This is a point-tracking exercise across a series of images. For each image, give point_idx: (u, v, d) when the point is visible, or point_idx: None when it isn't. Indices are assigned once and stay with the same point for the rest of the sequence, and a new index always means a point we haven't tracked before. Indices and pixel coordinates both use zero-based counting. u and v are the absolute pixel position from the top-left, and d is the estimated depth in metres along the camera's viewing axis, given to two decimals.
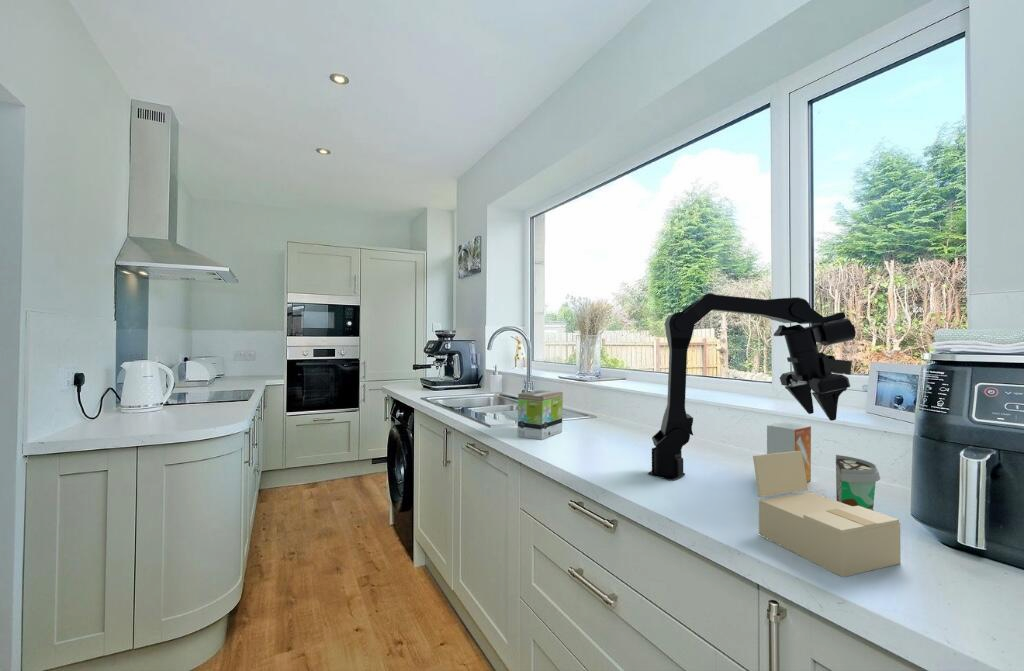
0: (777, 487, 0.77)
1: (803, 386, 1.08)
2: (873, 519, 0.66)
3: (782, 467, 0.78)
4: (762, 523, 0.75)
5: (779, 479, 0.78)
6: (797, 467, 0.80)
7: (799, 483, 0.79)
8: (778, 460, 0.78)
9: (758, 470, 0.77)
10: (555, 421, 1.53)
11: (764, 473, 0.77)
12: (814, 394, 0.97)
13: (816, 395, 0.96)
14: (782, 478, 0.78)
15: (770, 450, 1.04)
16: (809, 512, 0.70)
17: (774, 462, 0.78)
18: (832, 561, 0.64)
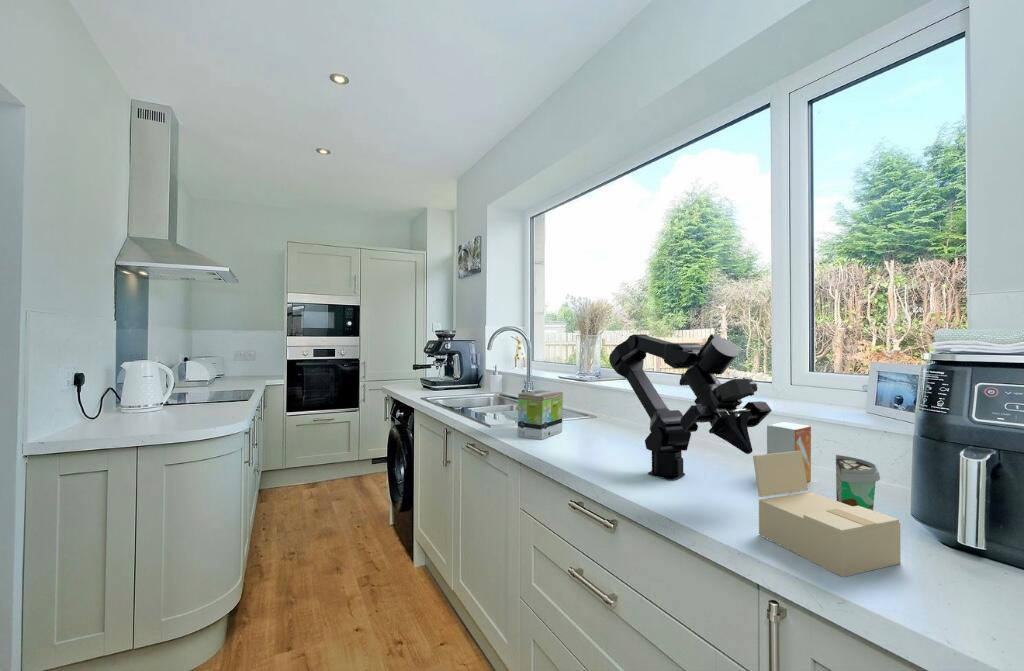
0: (777, 487, 0.77)
1: None
2: (873, 519, 0.66)
3: (782, 467, 0.78)
4: (762, 523, 0.75)
5: (779, 479, 0.78)
6: (797, 467, 0.80)
7: (799, 483, 0.79)
8: (778, 460, 0.78)
9: (758, 470, 0.77)
10: (555, 421, 1.53)
11: (764, 473, 0.77)
12: None
13: None
14: (782, 478, 0.78)
15: (770, 450, 1.04)
16: (809, 512, 0.70)
17: (774, 462, 0.78)
18: (832, 561, 0.64)
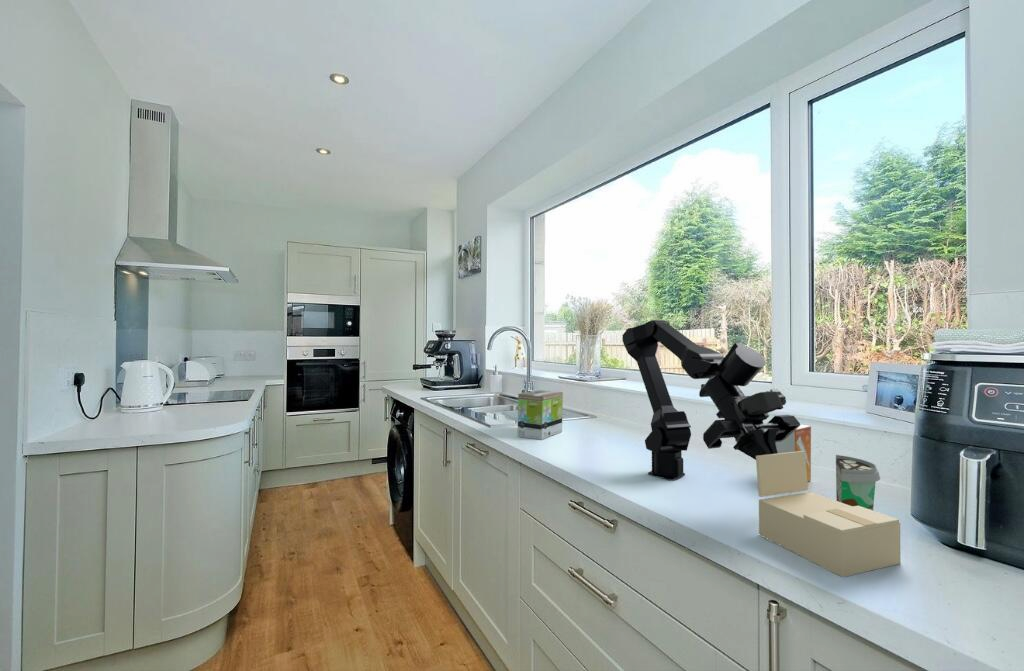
0: (778, 487, 0.77)
1: None
2: (873, 519, 0.66)
3: (784, 467, 0.78)
4: (762, 523, 0.75)
5: (780, 479, 0.78)
6: (799, 467, 0.79)
7: (800, 483, 0.79)
8: (781, 460, 0.78)
9: (760, 470, 0.76)
10: (555, 421, 1.53)
11: (766, 473, 0.77)
12: None
13: None
14: (783, 478, 0.78)
15: None
16: (809, 512, 0.70)
17: (777, 463, 0.78)
18: (832, 561, 0.64)
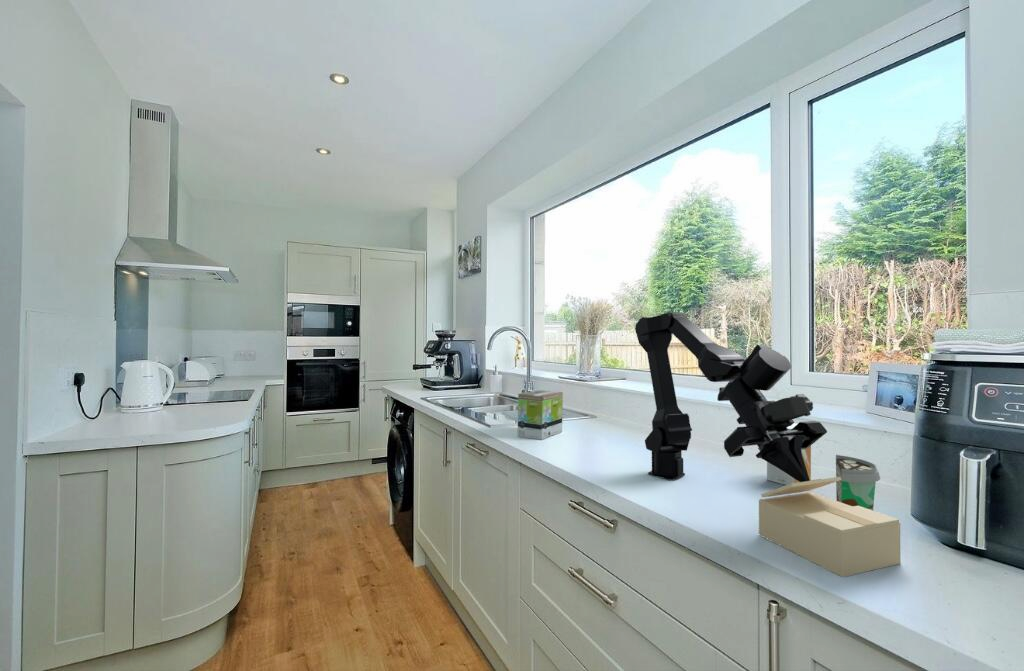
0: (784, 493, 0.76)
1: None
2: (873, 519, 0.66)
3: (807, 487, 0.74)
4: (762, 523, 0.75)
5: (793, 490, 0.75)
6: (821, 485, 0.75)
7: (807, 489, 0.78)
8: (810, 485, 0.73)
9: (782, 490, 0.72)
10: (555, 421, 1.53)
11: (785, 490, 0.73)
12: None
13: None
14: (797, 490, 0.75)
15: None
16: (809, 512, 0.70)
17: (804, 486, 0.73)
18: (832, 561, 0.64)
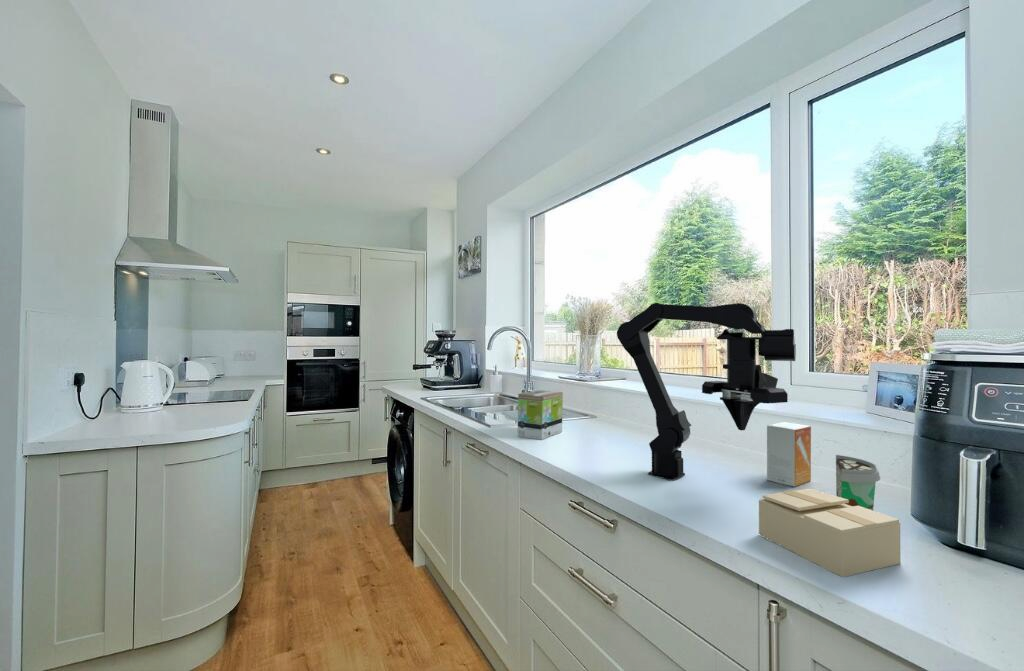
0: None
1: (739, 400, 1.00)
2: (873, 519, 0.66)
3: None
4: (762, 523, 0.75)
5: None
6: None
7: None
8: None
9: (786, 505, 0.72)
10: (555, 421, 1.53)
11: None
12: (736, 401, 0.97)
13: (739, 403, 0.96)
14: None
15: (770, 450, 1.04)
16: (809, 512, 0.70)
17: None
18: (832, 561, 0.64)
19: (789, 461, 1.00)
